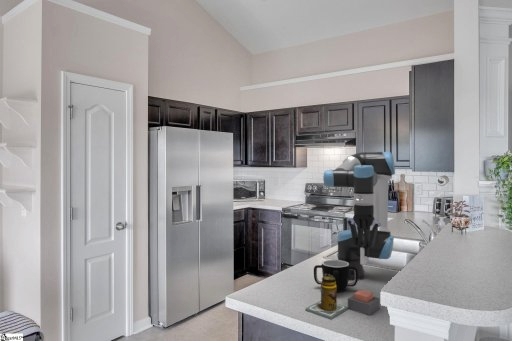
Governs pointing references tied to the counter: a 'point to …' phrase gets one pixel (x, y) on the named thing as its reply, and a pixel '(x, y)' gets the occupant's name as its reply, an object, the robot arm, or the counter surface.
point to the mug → (337, 273)
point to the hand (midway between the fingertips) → (363, 263)
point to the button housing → (364, 305)
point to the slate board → (324, 313)
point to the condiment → (328, 295)
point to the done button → (363, 296)
